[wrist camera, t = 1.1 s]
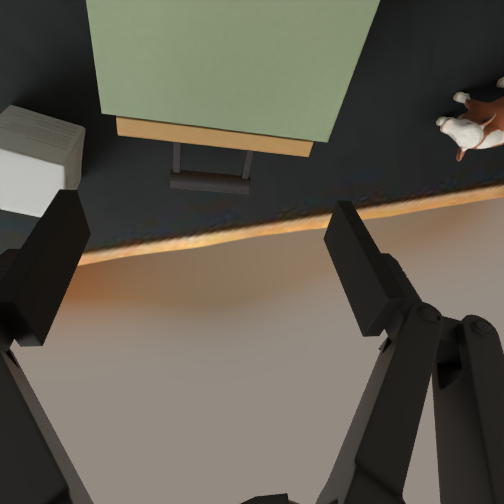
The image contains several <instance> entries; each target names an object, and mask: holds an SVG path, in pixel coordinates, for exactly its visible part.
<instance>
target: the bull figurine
mask: <svg viewBox="0 0 504 504" xmlns="http://www.w3.org/2000/svg"><path fill="white" fill-rule="evenodd" d="M496 86H497V87H502V88H504V77H502V78H500V79H499V80H498V82H497V84H496ZM453 99H454V100H455V101H457V102H462V103H465V106H466V108H468V112H467V113H466V114H462V115H461V116H459V117H458V118H457V119H455V118H453V117H444V116H441V117H440V118H438V120H437V121H436V124H437V125H439V126H440V125H441V127H440V130H441V131H442V132H443V133H446V134H448V135H449V136H450V137H452V138H453V139H454V140H455V141H456V142H457V144H458V145H459V146H460V148H459V149H458V151H457V156H456V159H457V161H460V160H461V159H462V157H463V155H464V153H465V151H466V150H467V149H468V148H472V149H483V148H490V147H495V146H499V145H502V144H504V96H502V97H500V98H498V99H497V100H495V101H493V102H488V103H485V102H480V101H476V100H473V99H470V97H469V94H468V93H467V94H465V93H463V92H457V93H456V94H455V96H454V97H453Z"/></svg>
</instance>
